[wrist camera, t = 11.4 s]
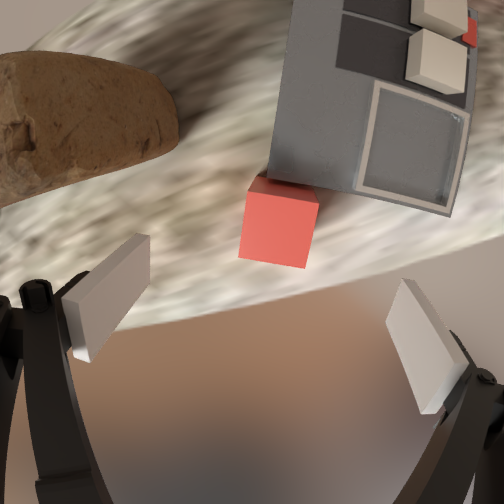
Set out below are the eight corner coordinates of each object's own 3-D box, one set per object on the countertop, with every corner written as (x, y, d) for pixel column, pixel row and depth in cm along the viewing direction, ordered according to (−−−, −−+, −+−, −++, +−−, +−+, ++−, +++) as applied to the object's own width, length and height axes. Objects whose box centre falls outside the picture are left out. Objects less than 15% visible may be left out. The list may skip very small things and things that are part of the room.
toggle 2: (405, 79, 20) (419, 74, 17) (409, 37, 19) (423, 28, 16) (446, 94, 20) (463, 92, 17) (450, 53, 18) (467, 47, 16)
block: (178, 74, 25) (18, 22, 7) (190, 151, 28) (39, 208, 9) (82, 105, 26) (-85, 122, 8) (94, 173, 29) (-65, 243, 11)
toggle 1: (410, 22, 18) (424, 12, 15) (411, -14, 16) (424, -26, 14) (451, 39, 18) (467, 32, 15) (451, 3, 16) (466, -6, 13)
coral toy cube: (248, 227, 30) (238, 257, 24) (256, 175, 28) (247, 191, 22) (300, 236, 30) (304, 268, 23) (311, 185, 28) (319, 203, 21)
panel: (267, 172, 28) (265, 179, 24) (299, -33, 20) (301, -54, 16) (436, 209, 27) (456, 221, 23) (463, 18, 19) (483, 8, 15)
